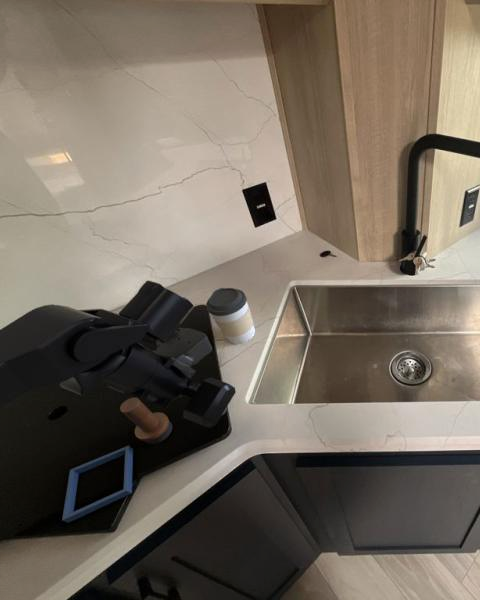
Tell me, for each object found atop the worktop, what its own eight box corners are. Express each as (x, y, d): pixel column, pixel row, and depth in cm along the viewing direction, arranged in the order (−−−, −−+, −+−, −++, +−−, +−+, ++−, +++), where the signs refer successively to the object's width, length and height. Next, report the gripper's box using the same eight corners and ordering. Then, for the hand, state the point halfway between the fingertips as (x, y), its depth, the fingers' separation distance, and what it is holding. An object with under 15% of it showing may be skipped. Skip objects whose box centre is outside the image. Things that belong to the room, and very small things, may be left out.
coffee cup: (266, 335, 88) (250, 295, 78) (234, 355, 83) (213, 314, 73) (249, 319, 92) (232, 278, 82) (218, 336, 87) (196, 295, 77)
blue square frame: (71, 524, 56) (61, 520, 54) (78, 474, 61) (69, 469, 60) (134, 494, 59) (127, 490, 57) (135, 450, 65) (128, 445, 63)
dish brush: (144, 452, 65) (110, 424, 57) (144, 429, 68) (112, 399, 60) (176, 439, 67) (147, 410, 59) (174, 417, 70) (147, 386, 62)
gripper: (230, 336, 44) (273, 375, 57) (128, 303, 49) (190, 347, 62) (175, 415, 39) (237, 439, 52) (65, 370, 43) (148, 403, 56)
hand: (202, 402), depth 55 cm, fingers open, 9 cm apart
